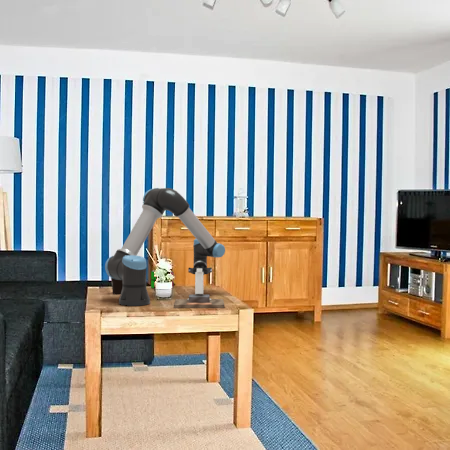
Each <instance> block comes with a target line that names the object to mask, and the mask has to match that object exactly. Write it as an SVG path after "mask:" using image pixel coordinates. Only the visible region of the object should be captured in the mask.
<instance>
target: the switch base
mask: <svg viewBox="0 0 450 450" xmlns="http://www.w3.org/2000/svg"><path fill="white" fill-rule="evenodd" d="M173 309H225V302H224V299H223V298H218V299H217V298H215V299H214V298H210V294H203V295H195V294H189V295H188V298H175V299H174V304H173Z"/></svg>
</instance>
